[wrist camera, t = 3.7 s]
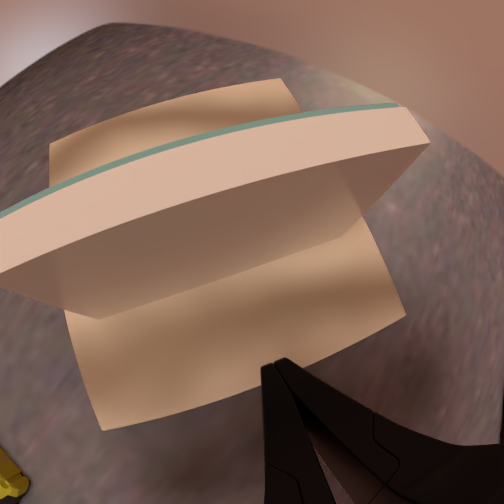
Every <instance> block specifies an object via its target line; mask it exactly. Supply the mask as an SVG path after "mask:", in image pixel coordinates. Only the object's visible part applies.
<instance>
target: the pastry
mask: <svg viewBox="0 0 504 504" xmlns="http://www.w3.org/2000/svg"><path fill="white" fill-rule="evenodd" d="M500 438H501V443H504V405H503V425H502V430H501V433H500Z"/></svg>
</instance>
